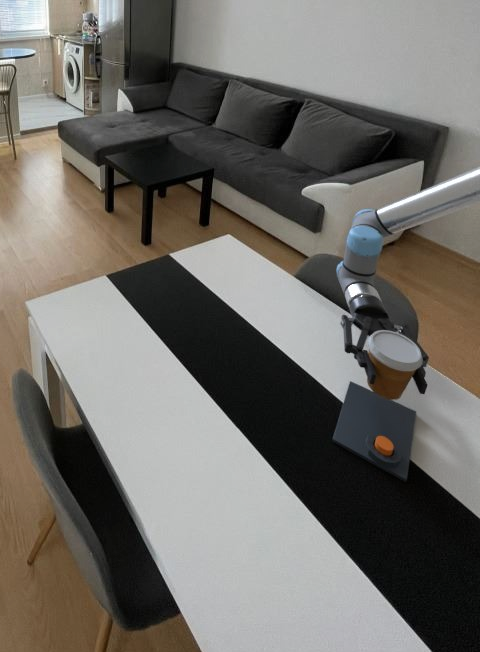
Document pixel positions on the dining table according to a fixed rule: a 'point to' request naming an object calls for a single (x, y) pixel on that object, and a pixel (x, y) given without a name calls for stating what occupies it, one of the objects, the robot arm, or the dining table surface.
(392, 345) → the disposable coffee cup
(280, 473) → the dining table surface
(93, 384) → the dining table surface
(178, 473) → the dining table surface
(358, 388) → the scale
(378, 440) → the button
